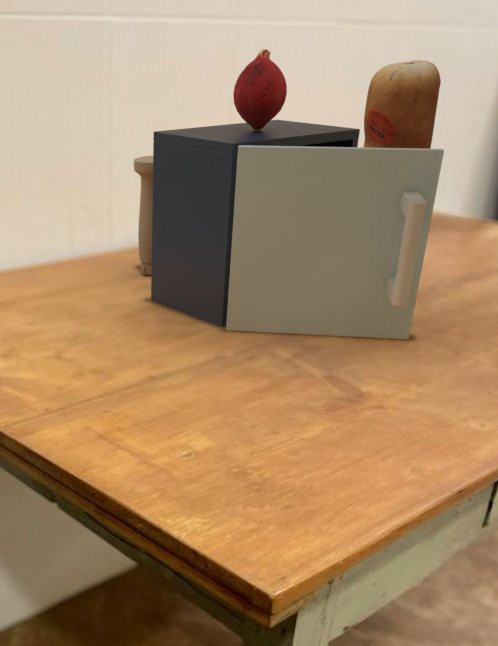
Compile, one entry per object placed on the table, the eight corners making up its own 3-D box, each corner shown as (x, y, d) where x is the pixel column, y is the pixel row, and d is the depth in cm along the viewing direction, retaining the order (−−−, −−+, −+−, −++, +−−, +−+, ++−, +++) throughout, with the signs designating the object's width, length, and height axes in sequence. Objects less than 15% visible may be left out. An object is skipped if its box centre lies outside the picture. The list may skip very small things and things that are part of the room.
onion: (267, 134, 89) (274, 50, 85) (222, 130, 92) (226, 49, 88) (291, 129, 93) (299, 48, 89) (247, 126, 96) (252, 47, 92)
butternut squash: (327, 222, 144) (347, 60, 130) (375, 212, 151) (399, 57, 137) (392, 236, 134) (421, 63, 121) (440, 225, 141) (473, 60, 128)
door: (414, 363, 85) (455, 158, 74) (222, 353, 88) (235, 154, 77) (406, 341, 90) (442, 148, 80) (226, 332, 93) (238, 145, 83)
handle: (175, 269, 117) (178, 156, 109) (160, 281, 112) (162, 163, 104) (144, 266, 119) (145, 154, 111) (127, 277, 114) (127, 161, 106)
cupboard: (336, 301, 104) (360, 129, 93) (221, 333, 93) (233, 143, 83) (263, 279, 113) (277, 119, 102) (150, 306, 102) (153, 131, 92)
